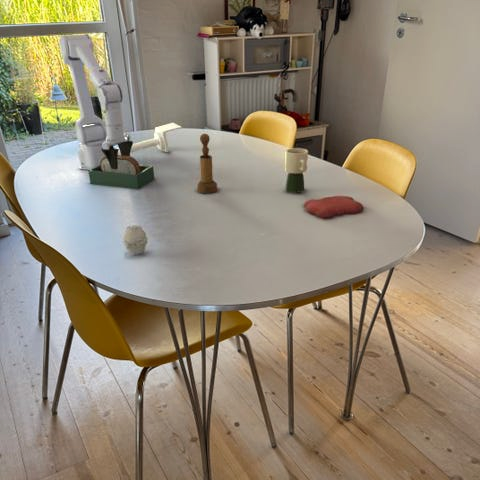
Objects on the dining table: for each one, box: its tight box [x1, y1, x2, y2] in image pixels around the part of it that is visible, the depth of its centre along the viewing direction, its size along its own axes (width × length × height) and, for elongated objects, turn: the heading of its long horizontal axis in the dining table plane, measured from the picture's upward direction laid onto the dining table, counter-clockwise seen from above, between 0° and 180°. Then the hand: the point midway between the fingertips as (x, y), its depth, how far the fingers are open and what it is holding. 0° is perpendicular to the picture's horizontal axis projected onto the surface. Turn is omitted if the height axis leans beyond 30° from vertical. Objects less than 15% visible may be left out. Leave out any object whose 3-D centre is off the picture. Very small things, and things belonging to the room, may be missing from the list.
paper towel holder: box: [116, 122, 183, 155], centre depth 200 cm, size 9×9×32 cm
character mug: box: [284, 147, 309, 194], centre depth 155 cm, size 11×7×13 cm, turn 21°
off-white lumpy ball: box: [122, 224, 149, 255], centre depth 119 cm, size 6×7×7 cm
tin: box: [100, 155, 141, 175], centre depth 168 cm, size 15×3×8 cm, turn 70°
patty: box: [303, 195, 364, 219], centre depth 145 cm, size 18×14×2 cm
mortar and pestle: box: [196, 133, 218, 195], centre depth 156 cm, size 7×6×18 cm
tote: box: [87, 164, 155, 190], centre depth 169 cm, size 19×12×5 cm, turn 70°
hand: (120, 165), depth 167 cm, fingers open, 7 cm apart
